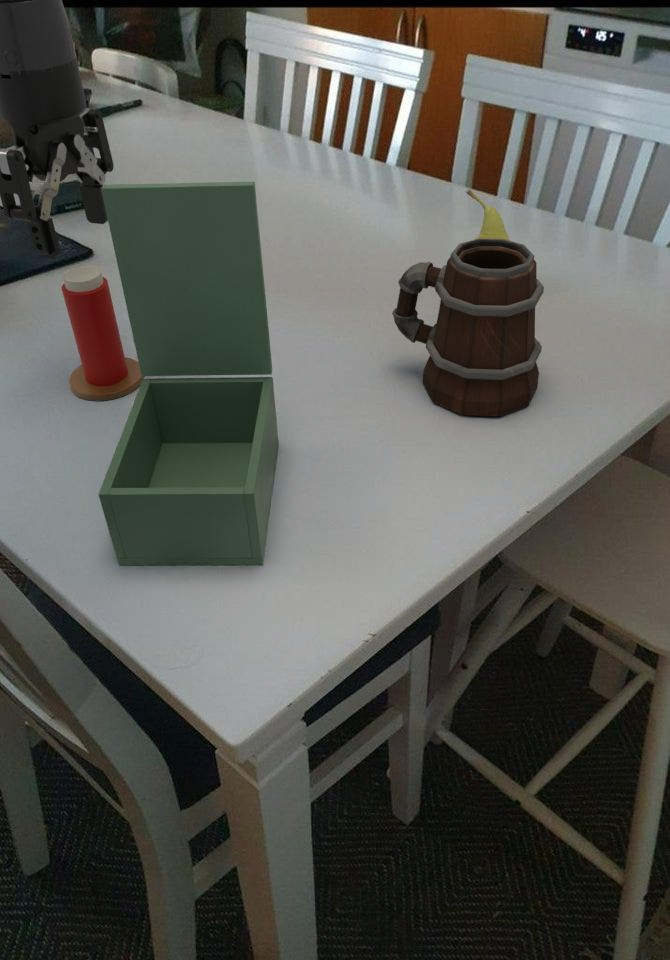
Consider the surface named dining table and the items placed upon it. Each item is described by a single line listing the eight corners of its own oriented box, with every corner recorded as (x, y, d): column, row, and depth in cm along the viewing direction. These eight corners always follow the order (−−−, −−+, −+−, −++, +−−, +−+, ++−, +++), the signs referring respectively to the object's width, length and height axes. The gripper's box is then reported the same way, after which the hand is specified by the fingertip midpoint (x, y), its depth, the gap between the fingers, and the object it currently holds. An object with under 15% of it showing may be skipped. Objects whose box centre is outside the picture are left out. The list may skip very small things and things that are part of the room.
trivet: (81, 409, 86) (79, 402, 85) (62, 374, 91) (61, 368, 91) (153, 387, 88) (152, 381, 88) (131, 355, 94) (130, 349, 93)
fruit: (503, 303, 101) (513, 208, 93) (448, 290, 104) (453, 197, 96) (523, 282, 105) (534, 190, 97) (470, 270, 108) (477, 180, 101)
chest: (262, 565, 67) (253, 493, 62) (118, 565, 67) (98, 494, 63) (278, 444, 80) (272, 376, 75) (157, 445, 80) (143, 378, 75)
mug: (546, 369, 89) (566, 238, 79) (517, 429, 80) (536, 290, 71) (411, 342, 94) (415, 216, 84) (371, 396, 86) (371, 263, 76)
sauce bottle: (92, 390, 87) (64, 287, 79) (80, 371, 90) (53, 270, 82) (133, 378, 88) (110, 276, 81) (121, 359, 92) (97, 259, 84)
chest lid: (253, 184, 63) (260, 163, 67) (100, 188, 64) (115, 166, 67) (271, 374, 74) (276, 347, 78) (141, 376, 75) (152, 348, 79)
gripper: (42, 37, 75) (82, 209, 85) (-63, 74, 65) (-3, 265, 75) (112, 40, 73) (144, 215, 83) (16, 79, 63) (66, 274, 73)
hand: (75, 238), depth 79 cm, fingers open, 8 cm apart
